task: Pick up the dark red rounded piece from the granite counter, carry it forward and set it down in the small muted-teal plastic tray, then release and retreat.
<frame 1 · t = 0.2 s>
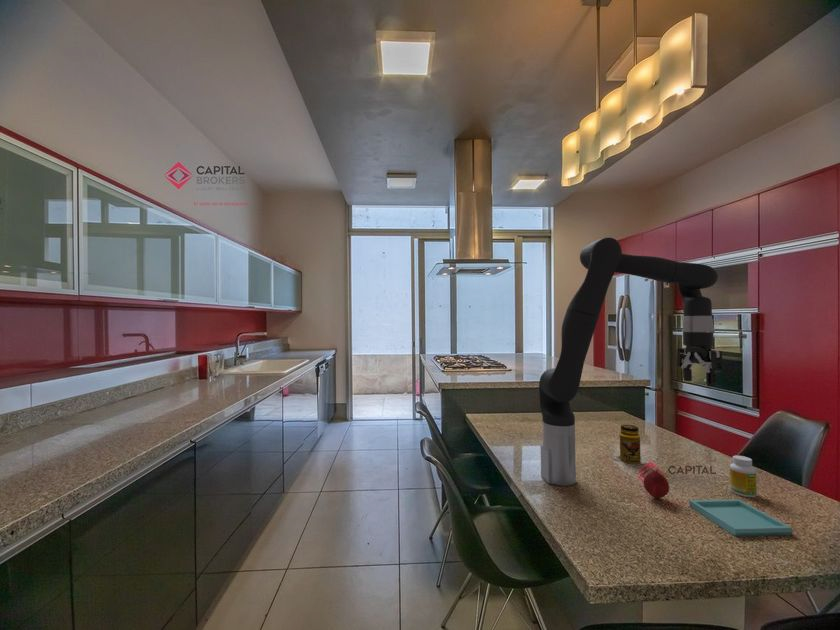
hand: (698, 383, 111), 29 cm above the kitchen island, tool pointing down, fingers open, 8 cm apart
condiment: (628, 461, 124), on the kitchen island
tray: (737, 519, 86), on the kitchen island
dark red rounded piece: (656, 499, 97), on the kitchen island
supplement bottle: (743, 494, 99), on the kitchen island
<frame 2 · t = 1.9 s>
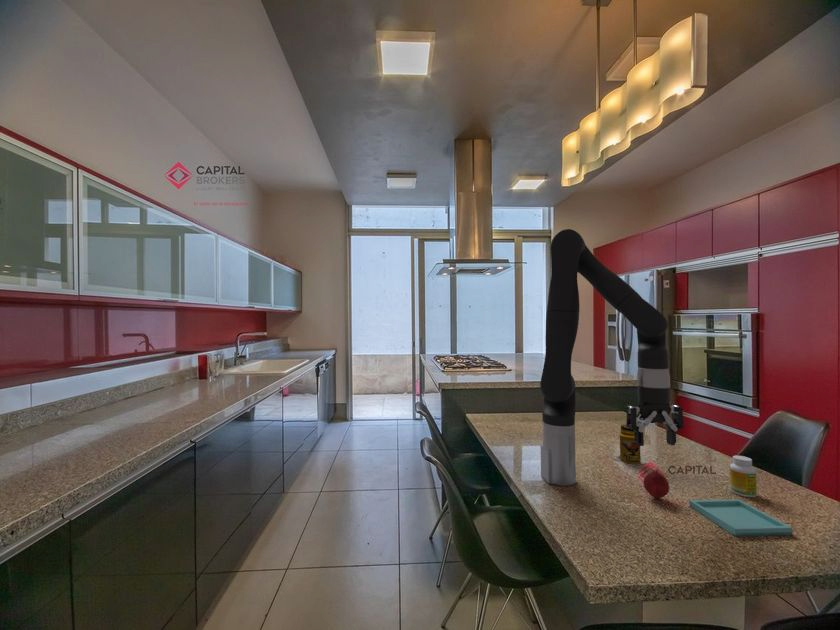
hand: (655, 444, 97), 14 cm above the kitchen island, tool pointing down, fingers open, 8 cm apart
nothing on the kitchen island moved.
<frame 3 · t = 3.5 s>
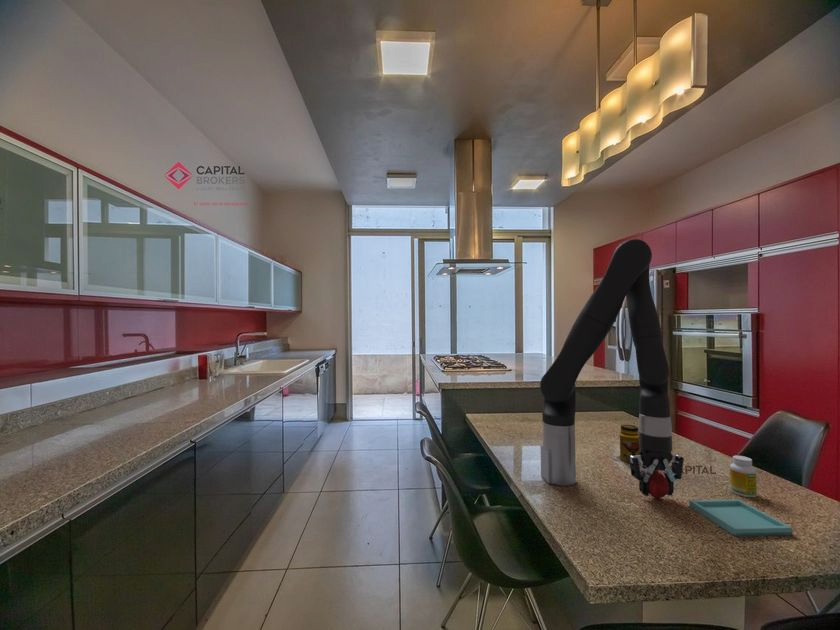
hand: (656, 494, 97), 1 cm above the kitchen island, tool pointing down, fingers closed on dark red rounded piece, 6 cm apart
dark red rounded piece: (656, 499, 97), on the kitchen island, touching gripper
everything else where it was.
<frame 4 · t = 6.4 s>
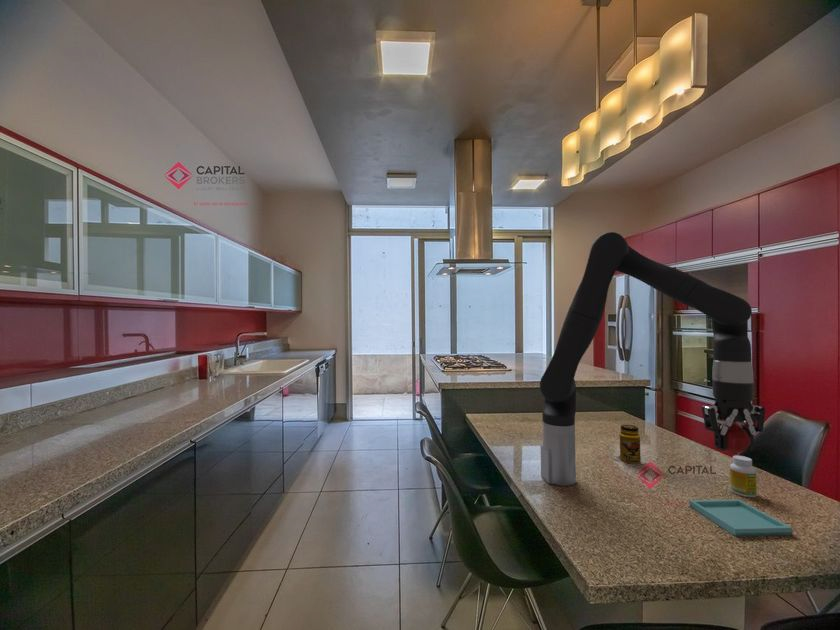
hand: (734, 449, 87), 17 cm above the kitchen island, tool pointing down, fingers closed on dark red rounded piece, 6 cm apart
dark red rounded piece: (734, 455, 87), point 15 cm above the kitchen island, touching gripper
everything else where it was.
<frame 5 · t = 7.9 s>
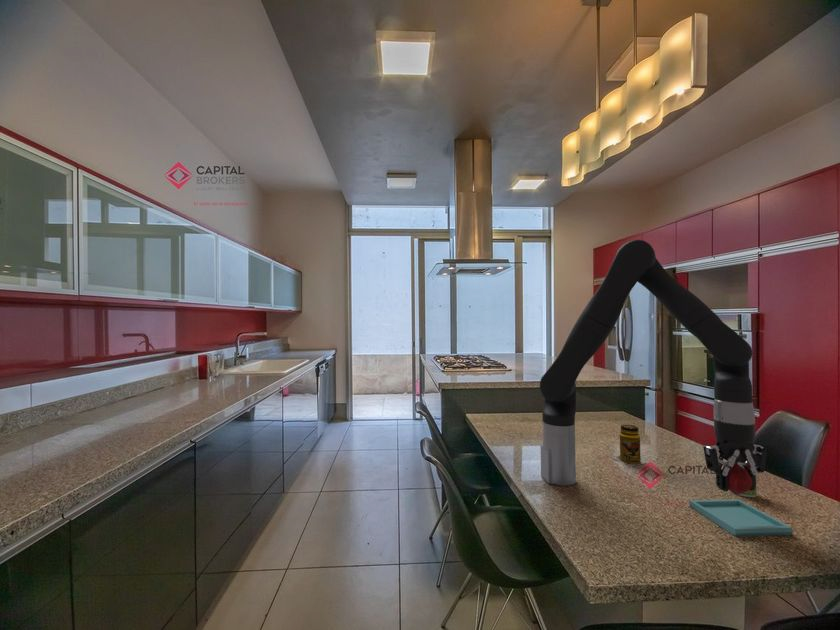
hand: (736, 489, 86), 7 cm above the kitchen island, tool pointing down, fingers closed on dark red rounded piece, 6 cm apart
dark red rounded piece: (736, 495, 86), point 6 cm above the kitchen island, touching gripper
everything else where it was.
when the fingers open (4 cm above the kitchen island, at t = 9.2 s): dark red rounded piece drops 2 cm, resting on tray.
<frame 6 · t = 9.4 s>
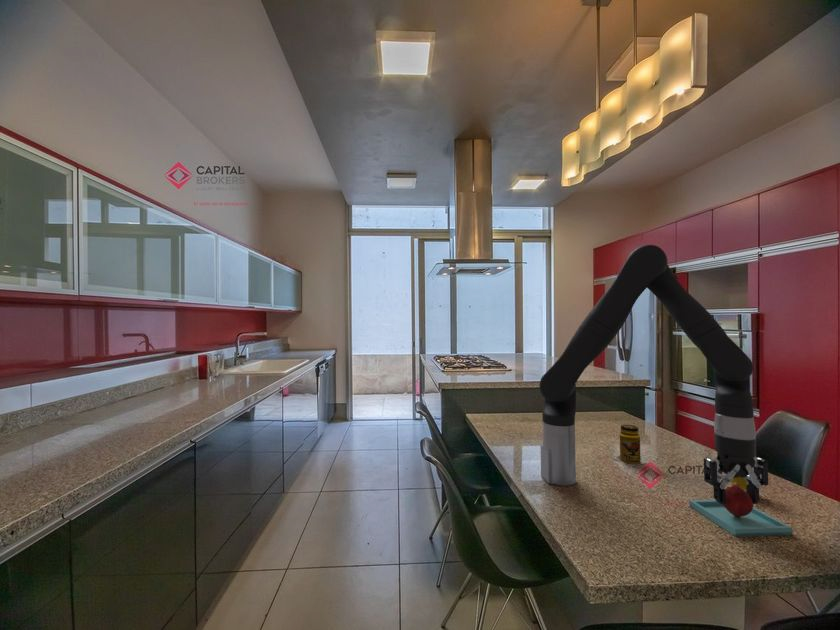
hand: (736, 502, 86), 4 cm above the kitchen island, tool pointing down, fingers open, 7 cm apart
dark red rounded piece: (737, 517, 86), resting on tray
everything else where it was.
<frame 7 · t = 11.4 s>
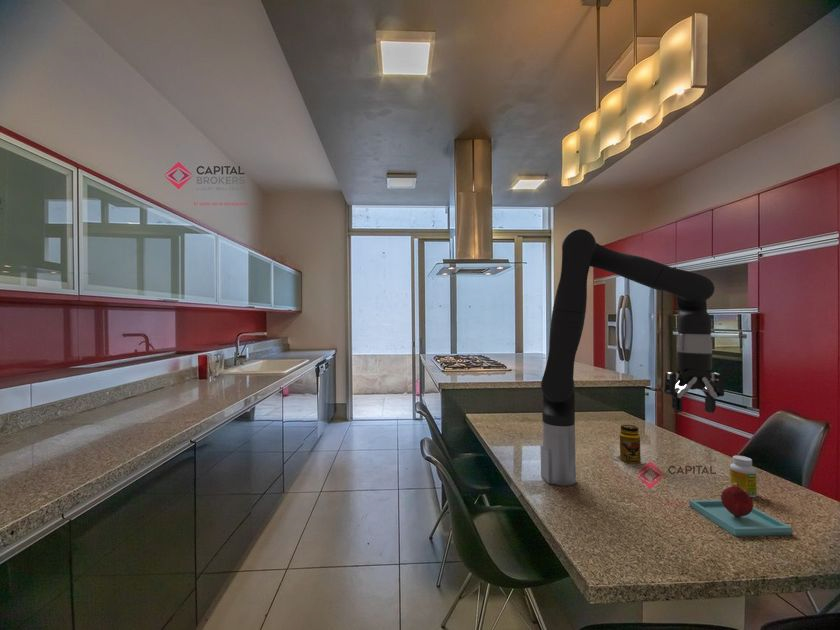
hand: (693, 411, 96), 24 cm above the kitchen island, tool pointing down, fingers open, 8 cm apart
nothing on the kitchen island moved.
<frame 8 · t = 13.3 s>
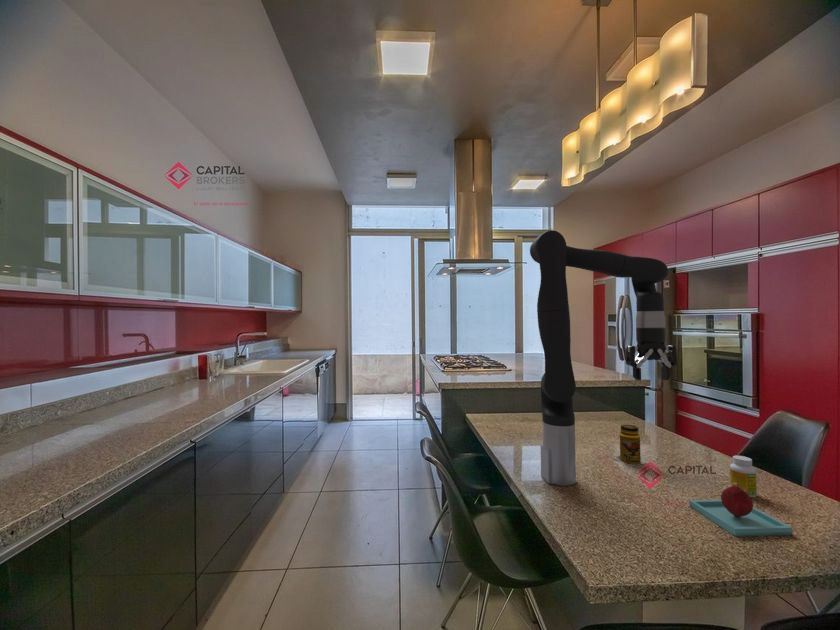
hand: (651, 379, 109), 30 cm above the kitchen island, tool pointing down, fingers open, 8 cm apart
nothing on the kitchen island moved.
at the end: dark red rounded piece inside the target area on the tray (0.1 cm from its centre), point 0.4 cm above the tray's base; the gripper is holding nothing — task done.
